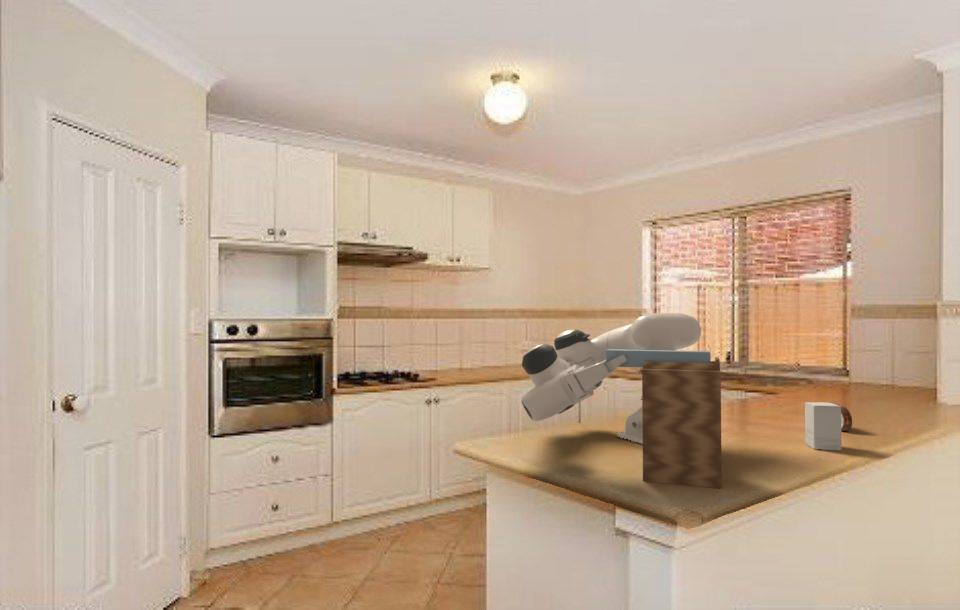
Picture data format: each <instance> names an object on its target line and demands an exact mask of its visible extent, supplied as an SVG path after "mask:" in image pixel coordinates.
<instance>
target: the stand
mask: <svg viewBox="0 0 960 610" xmlns="http://www.w3.org/2000/svg"><path fill="white" fill-rule="evenodd" d="M720 360H721V359H720V358H719V357H718V356H715V357H714V361H713V360H711V363H684V362H646V361H644V362H643V367H642V369H641V383H642V384H641V385H642V386H641V389H642V391H641V395H642V396H641V399H642V400H641V403H642V405H641V407H642V427H643V444H642V482H650V483H659V484H660V483H661V484H671V485H679V486H681V485H683V486H689V487H690V486H693V487H703V488H713V489H722V487H723V486H722V485H723V482H722V481H723V480H722V479H723V478H722V477H723V476H722V474H723V473H722V472H723V470H722V464H723V463H722V462H723V461H722V384H721V383H722V376H721V375H722V373H721V372H722V371H721V361H720Z"/></svg>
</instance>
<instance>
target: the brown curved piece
mask: <svg viewBox="0 0 960 610" xmlns="http://www.w3.org/2000/svg"><path fill="white" fill-rule="evenodd" d="M827 403H833V404H836V405H838V406H841V432H849V431H850V430H851V429H852V426H853V417H852V415H851V411H850V410H849V408H847V406H845V405H841V404H839V403H835V402H832V401H829V402H827Z"/></svg>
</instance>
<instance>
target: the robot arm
mask: <svg viewBox="0 0 960 610" xmlns="http://www.w3.org/2000/svg"><path fill="white" fill-rule="evenodd" d="M701 334H702V328H701V325H700V322H699V321H698V319H696V318H695V317H693V316H691V315H689V314H685V313H680V312H679V313H677V312H675V313H674V312H672V313H671V312H670V313H669V312H663V313H660V312H659V313H658V312H653V313H647V314H645V315H642V316H639V317H637V318H636V319H634V321H633V323H630V324H627V325H622V326H620V327H616V328H614V329H611V330H608V331H606V332H603V333H602V334H600V335H598V336H596V337H594V338H592V339H590V338H589V337H590V336H591V335H590V334H589V333H585V332H584V331H581V330H579V329H568V330H565V331H562V332H560V333H559V334H558V335H557V336H556V337H555V338H554V341H553V343H554V344H553V345H554V346H553V345H550V344H547V343H542V344H538V345H535V346H533V347H531V348H530V349H529V350H527V351H526V352H525V354H524V355H523V356H522V361H521V366H522V368H523V369H524V371H525V373H526V374H527V375H528V376H529V378H530V379H531V382H532V383H533V385H534V387H533V388H532V389H530V390H529V391H528V392H526V393H525V394H524V395H522V396H521V404H522V406H523V409H524V410H525V412H526V413H527V415H528V417H529V418H530V419H531V420H532V421H534V422H535V423H537V422H540V421H543V420H545V419H548V418H551V417H554V416H556V415H560V414H562V413H564V412H566V411H567V410H569V409H571V408H573V407H574V406H575V405H577V404H579V403H581V402H582V401H585V400H586V399H588V398H591V396H593V395H594V391H595V390H597V389H598V388H600V387H601V385H602V383H603V380H604V379H606V378H607V377H608V376H610V375H611V374H612V373H614V372H615V371H616V370H618V369H619V367H617V366H619V365H620V364H622V363H624V362H626V361H627V358H626V356H625V355H621V356H619V357H617V358H615V359H613V360H611V361H609V362H607V361H606V350H608V349H624V350H676V351H679V350H681V349H685V348H688V347H691V346H693V345H695V344H696V343H698V341H699V339H700V337H701V336H702V335H701ZM606 362H607V363H606ZM640 401H642V398H641V399H640ZM617 436H618V437H617V438H619V437H620V439H623V438H624V439H623V440H626V439H628V440H627V441H630V440H631V442H634V443H637V442H638V444H641V445H643V427H642V406H641V407H639V408H638V409H637V410H636V411H634V412H633V413H631V414H630V415H628V416H627V417H626V421H625V425H624V430H622V431H619V432H618V433H617Z"/></svg>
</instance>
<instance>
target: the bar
mask: <svg viewBox="0 0 960 610" xmlns="http://www.w3.org/2000/svg"><path fill="white" fill-rule="evenodd" d="M621 355H625V356H626V358H627V361H626V362H624V363H622V364H620V365H619V366H617V367H618V368H643V362H644V361H646V362H684V363H711V361H712V360H711V351H710V350H624V349H608V350H606V361H607V362H609V361H611V360H613V359H615V358H617V357H619V356H621ZM607 362H606V363H607Z"/></svg>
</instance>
